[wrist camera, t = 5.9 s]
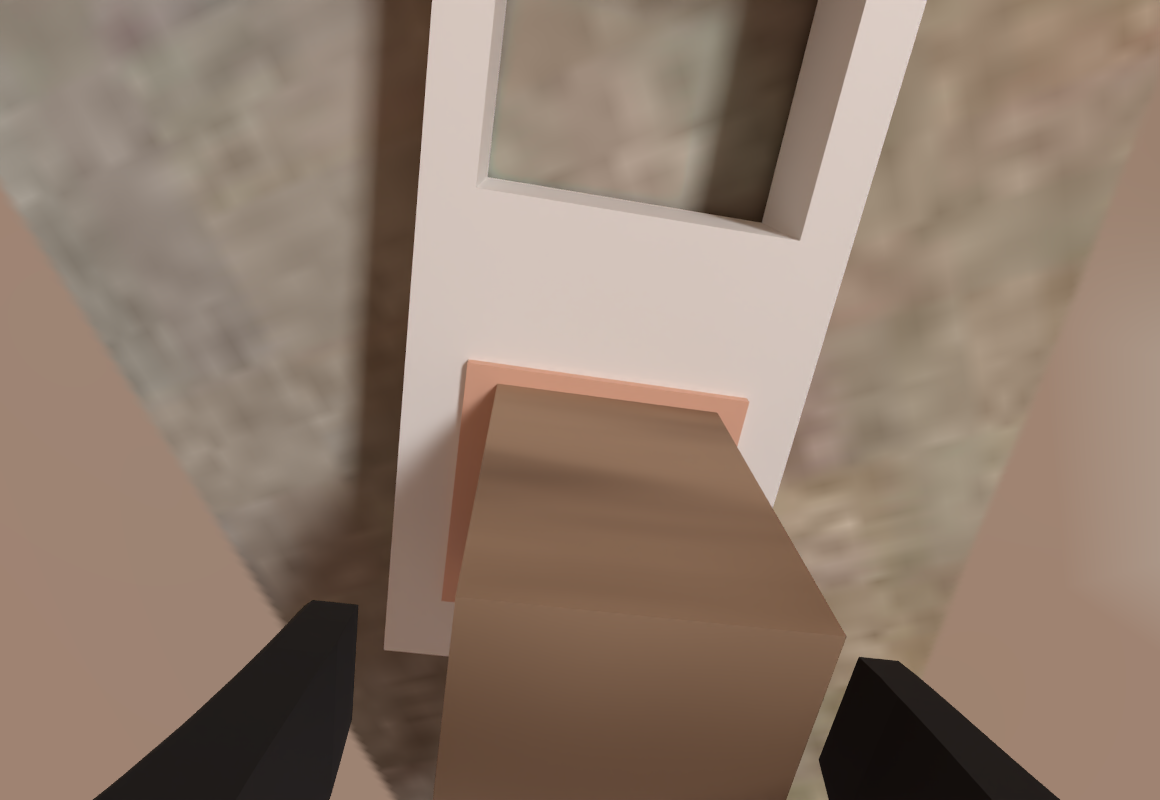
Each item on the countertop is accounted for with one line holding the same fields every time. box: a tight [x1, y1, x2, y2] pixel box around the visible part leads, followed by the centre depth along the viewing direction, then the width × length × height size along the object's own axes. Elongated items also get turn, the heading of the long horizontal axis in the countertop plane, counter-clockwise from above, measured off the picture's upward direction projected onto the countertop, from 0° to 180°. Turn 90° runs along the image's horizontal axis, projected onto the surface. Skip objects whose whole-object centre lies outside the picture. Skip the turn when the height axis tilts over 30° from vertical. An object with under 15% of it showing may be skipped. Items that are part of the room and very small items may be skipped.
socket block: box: [384, 0, 927, 656], centre depth 14 cm, size 18×8×3 cm, turn 171°
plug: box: [433, 384, 846, 800], centre depth 11 cm, size 4×4×6 cm
